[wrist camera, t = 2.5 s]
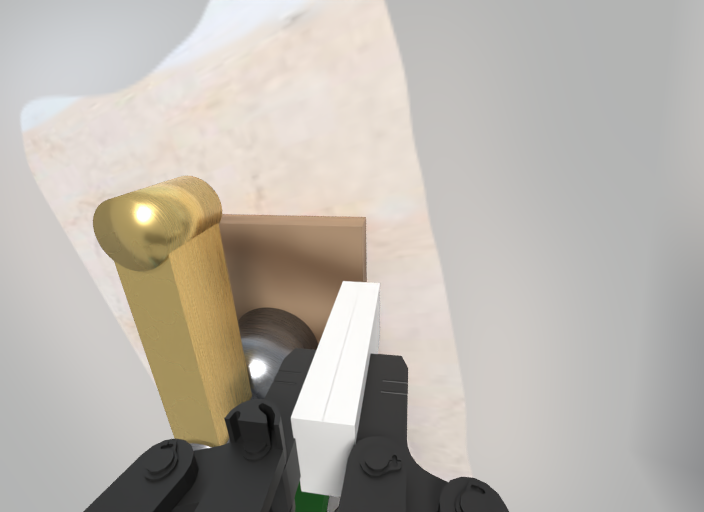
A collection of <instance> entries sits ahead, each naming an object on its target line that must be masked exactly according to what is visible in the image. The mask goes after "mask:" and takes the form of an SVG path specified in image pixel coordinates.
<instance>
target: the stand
mask: <svg viewBox="0 0 704 512" xmlns="http://www.w3.org/2000/svg"><path fill="white" fill-rule="evenodd" d="M219 229H220V234H221V239H222V244H223V249H224V255H225V260H226V265H227V270H228V275H229V280H230V285H231V290H232V295H233V301H234V306H235V311H236V316H237V321H238V320H239V319H240V317H241V316H243V315H244V314H245V313H247V312H249V311H251V310H253V309H257V308H264V307H270V308H277V309H281V310H284V311H287V312H289V313H291V314H293V315H295V316H297V317H298V318H300V319H301V320H302V321H304V322H305V323H306V324H307V325H308V327H309V328H310V329H311V330H312V332H313V333H314V335H315V337H316V339H317V342H318V345H319V342H320V340H321V337H322V335H323V332H324V329H325V327H326V324H327V322H328V319H329V316H330V314H331V311H332V308H333V306H334V303H335V301H336V298H337V295H338V293H339V290H340V288H341V285H342V282H343V281H351V282H367V277H366V217H326V216H277V215H229V214H222V218H221V221H220V224H219Z"/></svg>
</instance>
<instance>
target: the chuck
mask: <svg viewBox="0 0 704 512" xmlns="http://www.w3.org/2000/svg"><path fill="white" fill-rule="evenodd" d="M238 326H239V331H240V336H241V341H242V347H243V352H244V357H245V362H246V367H247V372H248V377H249V382H250V387H251V392H252V393H254V394H255V395H257V396H258V397H259V398H260V399H264V398H265V396H266V394H267V392H268V390H269V388H270V386H271V384H272V383H273V380H274V378H275V376H276V374H277V373H278V370H279V368H280V366H281V364H282V362H283V360H284V358H285V357H286V356H287V355H288V354H289V353H291V352H292V351H293V350H294V349H295V348H301V349H313V350H317V348H318V342H317V339H316V337H315V335H314V333H313V332H312V330H311V329H310V328H309V327H308V325H307V324H306V323H305V322H304V321H302V320H301V319H300V318H298V317H297V316H295V315H293V314H291V313H289V312H287V311H284V310H281V309H277V308H270V307H264V308H257V309H253V310H251V311H249V312H247V313H245V314H244V315H243V316H241V317H240V319H239V320H238Z"/></svg>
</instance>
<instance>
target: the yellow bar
mask: <svg viewBox="0 0 704 512" xmlns="http://www.w3.org/2000/svg"><path fill="white" fill-rule="evenodd" d="M221 218H222V206H221V202H220V200H219V197H218V195H217V194H216V192H215V191H214V190H213V188H212V187H211V186H210V185H209V184H207V183H206V182H205V181H203V180H201V179H199V178H197V177H193V176H181V177H177V178H174V179H171V180H168V181H165V182H162V183H159V184H155V185H152V186H149V187H146V188H143V189H140V190H137V191H133V192H130V193H127V194H124V195H121V196H118V197H115V198H111V199H108V200H106V201H104V202H103V203H101V204H100V205H99V206H98V208H97V209H96V211H95V213H94V217H93V227H94V232H95V236H96V238H97V240H98V242H99V244H100V246H101V247H102V249H103V250H104V251H105V252H106V254H107V255H108V256H109V257H110V258H111V259H113V260H114V262H115V265H116V268H117V271H118V274H119V277H120V280H121V283H122V286H123V289H124V292H125V295H126V298H127V300H128V303H129V306H130V309H131V312H132V315H133V318H134V321H135V324H136V327H137V330H138V333H139V336H140V338H141V341H142V344H143V347H144V350H145V353H146V356H147V359H148V362H149V365H150V368H151V371H152V374H153V377H154V379H155V382H156V385H157V388H158V391H159V394H160V397H161V400H162V403H163V406H164V409H165V411H166V415H167V417H168V420H169V423H170V426H171V429H172V432H173V435H174V438H177V439H182V440H186V441H187V442H188V443H189V444H190V445H191V446H192V449H193V451H195V450H200V449H206V448H211V447H216V446H221V445H224V444H227V443H229V442H230V439H229V435H228V431H227V427H226V423H225V419H224V418H225V417H226V416H227V415H228V413H229V412H230V411H231V410H232V409H233V408H235V407H236V406H238V405H239V404H241V403H243V402H246V401H249V400H252V399H260V398H259V397H258V396H257V395H255V394H254V393H252V392H251V387H250V382H249V377H248V372H247V367H246V362H245V357H244V352H243V347H242V341H241V336H240V331H239V326H238V321H237V316H236V311H235V306H234V301H233V295H232V290H231V285H230V280H229V275H228V270H227V265H226V260H225V255H224V249H223V244H222V239H221V234H220V229H219V224H220V221H221Z"/></svg>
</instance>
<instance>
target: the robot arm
mask: <svg viewBox="0 0 704 512" xmlns="http://www.w3.org/2000/svg"><path fill="white" fill-rule="evenodd" d="M379 341H380V283H370V282H351V281H343V282H342V285H341V288H340V290H339V293H338V295H337V298H336V301H335V303H334V306H333V308H332V311H331V314H330V316H329V319H328V322H327V324H326V327H325V329H324V332H323V335H322V337H321V340H320V342H319V345H318V348H317V350H313V349H301V348H295V349H294V350H293V351H292V352H291V353H289V354H288V355H287V356H286V357H285V358H284V360H283V362H282V364H281V366H280V368H279V370H278V373H277V374H276V376H275V378H274V380H273V383H272V384H271V386H270V388H269V390H268V392H267V394H266V396H265V398H264V399H252V400H249V401H246V402H243V403H241V404H239V405H238V406H236V407H235V408H233V409H232V410H231V411H230V412H229V413H228V415H227V416H226V417H225V418H224V419H225V423H226V427H227V431H228V435H229V439H230V442H229V443H227V444H224V445H221V446H216V447H211V448H206V449H200V450H195V451H193V449H192V446H191V445H190V444H189V443H188V442H187V441H186V440H182V439H177V438H175V439H170V440H165V441H162V442H161V443H158V444H156V445H154V446H152V447H151V448H150V449H149V450H147V451H146V452H145V453H143V454H142V455H141V456H140V457H139V458H138V459H137V460H136V461H135V462H134V463H133V464H132V465H131V466H130V467H129V468H128V469H127V470H126V471H125V472H124V473H122V474H121V475H120V476H119V478H117V479H116V480H115V481H114V482H113V483H112V484H111V485H110V487H108V488H107V489H106V490H105V491H104V492H103V493H102V494H101V495H100V496H99V497H98V498H97V499H96V500H95V501H94V502H93V503H92V504H91V505H90V506H89V507H88V508H87V509H86V510H85V511H84V512H295V507H296V505H295V499H294V498H295V494H296V491H297V487H298V484H299V481H300V485H301V491H303V492H309V493H315V494H322V495H328V496H335V497H341V498H340V504H339V508H338V509H337V510H336V511H335V512H509V511H508V509H507V507H506V505H505V504H504V502H503V501H502V499H501V497H500V496H499V494H498V493H497V492H496V491H494V490H493V489H492V488H491V487H490V486H489V485H488V484H486V483H484V482H482V481H480V480H477V479H475V478H469V477H459V478H456V479H453V480H450V482H449V483H448V482H446V481H444V480H442V479H440V478H438V477H436V476H434V475H432V474H430V473H428V472H427V471H425V470H424V469H422V468H421V467H420V466H419V465H418V464H417V463H416V462H415V460H414V459H413V458H412V456H411V454H410V452H409V449H408V446H407V394H408V367H407V365H406V363H405V362H404V360H403V358H402V356H395V355H383V354H378V348H379Z"/></svg>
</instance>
